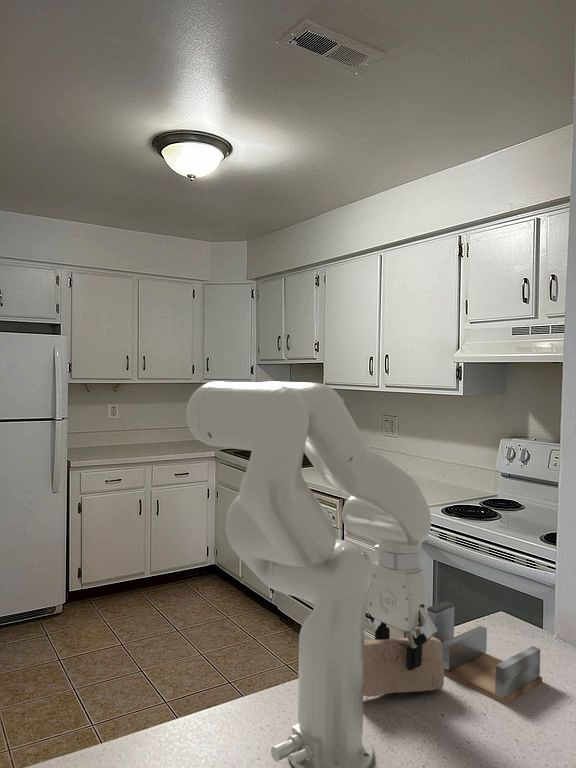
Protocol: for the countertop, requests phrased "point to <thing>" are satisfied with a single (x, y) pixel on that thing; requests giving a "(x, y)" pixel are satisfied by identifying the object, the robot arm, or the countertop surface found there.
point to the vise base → (500, 674)
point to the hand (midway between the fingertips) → (397, 658)
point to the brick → (401, 667)
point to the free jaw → (461, 645)
